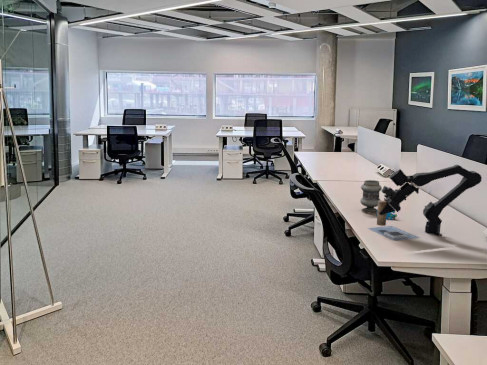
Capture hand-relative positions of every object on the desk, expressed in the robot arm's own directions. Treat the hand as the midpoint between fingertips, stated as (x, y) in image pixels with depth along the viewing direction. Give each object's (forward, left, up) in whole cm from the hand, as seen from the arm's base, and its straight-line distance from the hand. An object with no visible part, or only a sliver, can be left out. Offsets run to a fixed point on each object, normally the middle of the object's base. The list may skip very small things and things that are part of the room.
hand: (379, 213), depth 244 cm
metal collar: (0, +14, -8) cm, 16 cm away
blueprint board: (-3, +8, -9) cm, 13 cm away
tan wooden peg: (-1, +1, -6) cm, 6 cm away
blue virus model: (-18, -18, -10) cm, 27 cm away
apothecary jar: (-21, -38, -10) cm, 45 cm away
